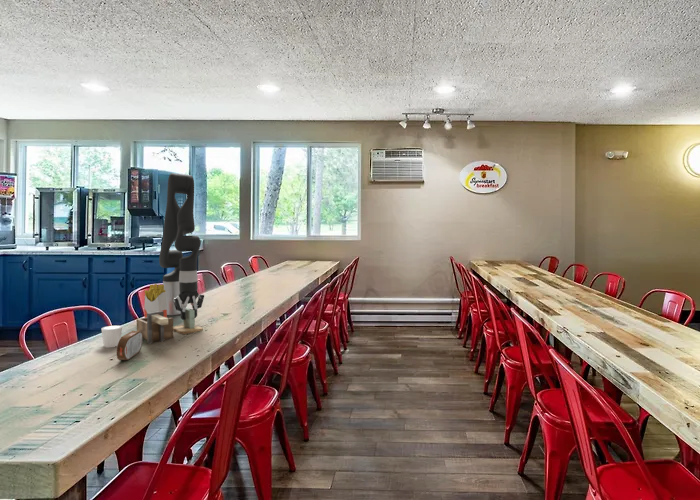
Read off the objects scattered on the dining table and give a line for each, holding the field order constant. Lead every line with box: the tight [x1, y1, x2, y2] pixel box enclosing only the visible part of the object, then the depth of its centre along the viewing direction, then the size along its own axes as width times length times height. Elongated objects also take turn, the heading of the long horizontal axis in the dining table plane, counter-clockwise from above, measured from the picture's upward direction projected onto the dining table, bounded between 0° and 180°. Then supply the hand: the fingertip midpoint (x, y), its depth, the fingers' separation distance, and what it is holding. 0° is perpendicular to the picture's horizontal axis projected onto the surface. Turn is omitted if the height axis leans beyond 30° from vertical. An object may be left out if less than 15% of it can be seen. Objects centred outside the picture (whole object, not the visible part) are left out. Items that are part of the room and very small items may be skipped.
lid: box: [173, 307, 204, 335], centre depth 176 cm, size 12×9×9 cm
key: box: [152, 314, 169, 325], centre depth 155 cm, size 10×2×2 cm, turn 48°
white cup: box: [100, 324, 123, 348], centre depth 153 cm, size 7×7×7 cm
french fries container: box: [144, 283, 168, 318], centre depth 188 cm, size 5×11×18 cm, turn 60°
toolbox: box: [136, 311, 174, 345], centre depth 164 cm, size 16×10×12 cm, turn 48°
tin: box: [116, 330, 144, 361], centre depth 141 cm, size 15×3×8 cm, turn 5°
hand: (189, 318), depth 177 cm, fingers open, 4 cm apart
